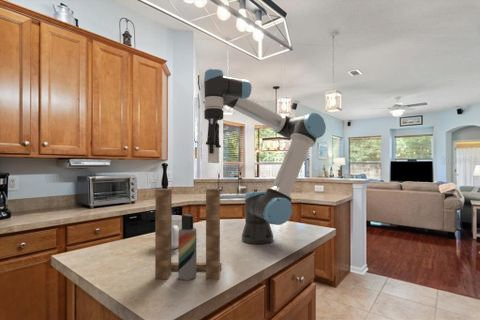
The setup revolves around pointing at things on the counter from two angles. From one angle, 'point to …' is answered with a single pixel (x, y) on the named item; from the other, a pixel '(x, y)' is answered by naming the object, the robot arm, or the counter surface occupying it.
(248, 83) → the robot arm
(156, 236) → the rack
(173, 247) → the mug
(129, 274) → the counter surface
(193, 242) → the lotion bottle
